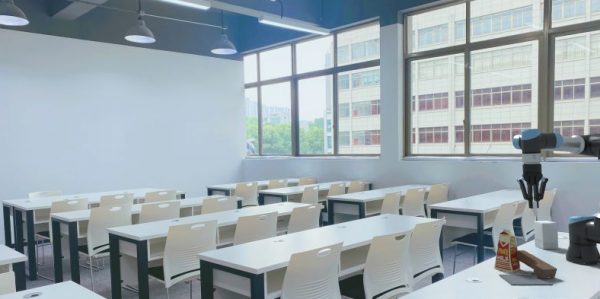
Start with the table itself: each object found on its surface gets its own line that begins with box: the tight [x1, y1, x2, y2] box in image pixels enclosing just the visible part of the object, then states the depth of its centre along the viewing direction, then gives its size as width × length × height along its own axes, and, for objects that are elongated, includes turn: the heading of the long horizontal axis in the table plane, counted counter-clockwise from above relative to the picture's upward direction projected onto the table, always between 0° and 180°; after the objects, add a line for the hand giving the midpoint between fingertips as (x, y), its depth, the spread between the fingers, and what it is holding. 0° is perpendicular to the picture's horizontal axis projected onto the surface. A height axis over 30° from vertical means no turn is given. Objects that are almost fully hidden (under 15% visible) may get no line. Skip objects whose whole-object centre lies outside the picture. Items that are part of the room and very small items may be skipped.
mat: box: [498, 273, 554, 286], centre depth 188 cm, size 17×14×1 cm
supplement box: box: [533, 220, 559, 250], centre depth 245 cm, size 9×9×15 cm
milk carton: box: [493, 228, 521, 273], centre depth 206 cm, size 9×9×20 cm
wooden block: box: [516, 249, 558, 279], centre depth 195 cm, size 9×4×18 cm
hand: (534, 215), depth 189 cm, fingers closed
